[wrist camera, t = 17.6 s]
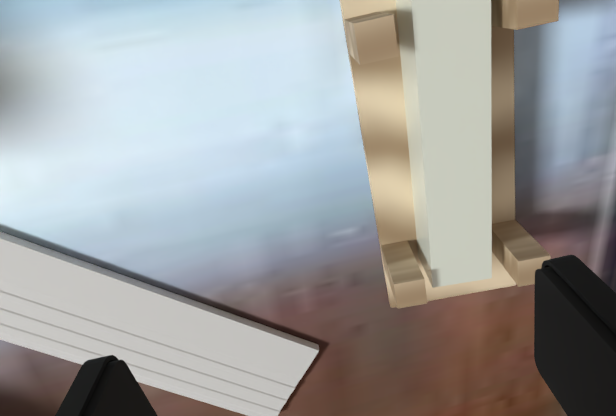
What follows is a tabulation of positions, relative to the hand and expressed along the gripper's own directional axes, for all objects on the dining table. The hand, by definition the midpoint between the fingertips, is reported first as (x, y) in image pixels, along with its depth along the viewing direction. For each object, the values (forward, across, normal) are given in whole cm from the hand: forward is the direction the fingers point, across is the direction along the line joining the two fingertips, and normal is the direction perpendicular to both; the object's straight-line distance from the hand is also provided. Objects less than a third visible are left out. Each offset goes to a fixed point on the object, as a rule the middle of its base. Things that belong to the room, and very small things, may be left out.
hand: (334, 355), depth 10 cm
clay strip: (+21, -8, +3) cm, 23 cm away
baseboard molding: (+22, +19, +15) cm, 33 cm away
